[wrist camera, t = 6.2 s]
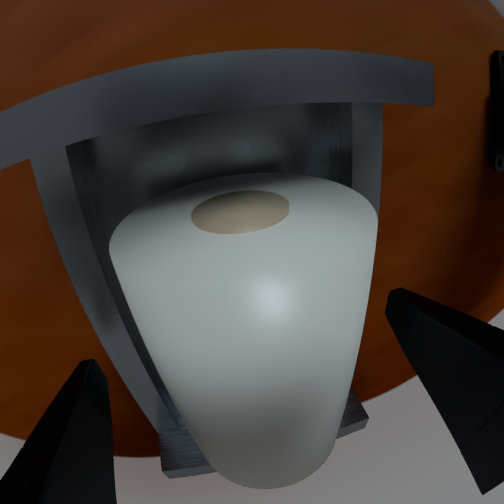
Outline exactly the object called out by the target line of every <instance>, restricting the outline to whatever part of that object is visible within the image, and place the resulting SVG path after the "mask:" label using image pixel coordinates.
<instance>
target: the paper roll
mask: <svg viewBox="0 0 504 504" xmlns="http://www.w3.org/2000/svg"><path fill="white" fill-rule="evenodd" d="M377 226H378V218H377V214H376V211H375V210H374V208H373V206H372V205H371V204H370V202H369V201H368V200H367V199H366V198H365V197H363V196H362V195H361V194H359V193H358V192H356V191H354V190H353V189H351V188H349V187H347V186H344V185H342V184H339V183H337V182H334V181H331V180H327V179H323V178H319V177H314V176H308V175H301V174H291V173H248V174H237V175H230V176H224V177H218V178H212V179H208V180H203V181H199V182H196V183H192V184H188V185H185V186H182V187H179V188H176V189H174V190H171V191H169V192H166V193H164V194H162V195H160V196H157V197H155V198H153V199H151V200H150V201H148V202H146V203H144V204H143V205H141V206H140V207H138V208H137V209H135V210H134V211H133V212H131V213H130V214H129V215H128V216H127V217H126V218H125V219H123V220H122V221H121V223H120V224H119V225H118V226H117V228H116V229H115V231H114V233H113V235H112V237H111V240H110V243H109V253H110V257H111V260H112V263H113V266H114V269H115V271H116V274H117V277H118V280H119V282H120V285H121V287H122V290H123V293H124V295H125V298H126V300H127V303H128V305H129V308H130V310H131V313H132V315H133V318H134V320H135V322H136V325H137V327H138V329H139V332H140V334H141V336H142V339H143V341H144V343H145V345H146V348H147V350H148V352H149V354H150V356H151V358H152V360H153V363H154V365H155V367H156V369H157V371H158V373H159V375H160V377H161V379H162V381H163V383H164V385H165V387H166V389H167V391H168V393H169V395H170V397H171V399H172V401H173V402H174V404H175V406H176V408H177V410H178V412H179V414H180V415H181V417H182V419H183V421H184V423H185V424H186V426H187V428H188V430H189V431H190V433H191V435H192V437H193V438H194V440H195V442H196V443H197V445H198V447H199V448H200V450H201V452H202V453H203V455H204V456H205V458H206V460H207V461H208V463H209V464H210V465H211V466H212V467H213V468H214V469H215V470H216V471H217V472H218V473H219V474H220V475H222V476H223V477H225V478H226V479H228V480H230V481H232V482H234V483H237V484H239V485H242V486H246V487H251V488H260V489H272V488H279V487H285V486H288V485H291V484H294V483H297V482H298V481H301V480H303V479H305V478H306V477H308V476H310V475H311V474H312V473H313V472H315V471H316V470H317V469H319V468H320V466H321V465H322V464H323V463H324V462H325V461H326V459H327V457H328V456H329V455H330V453H331V451H332V449H333V447H334V444H335V440H336V437H337V434H338V430H339V427H340V424H341V420H342V416H343V413H344V409H345V406H346V402H347V398H348V394H349V390H350V386H351V382H352V378H353V374H354V369H355V365H356V360H357V356H358V351H359V346H360V341H361V336H362V331H363V326H364V321H365V315H366V309H367V303H368V297H369V291H370V284H371V277H372V270H373V263H374V255H375V246H376V237H377Z"/></svg>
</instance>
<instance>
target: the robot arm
mask: <svg viewBox="0 0 504 504" xmlns="http://www.w3.org/2000/svg"><path fill="white" fill-rule="evenodd" d="M493 69H494V113H493V132H492V144H491V154H490V167H491V168H492V169H494V170H496V171H499V172H500V171H504V51H499V50H495V51H494V53H493ZM385 314H386V317H387V320H388V322H389V324H390V326H391V327H392V329H393V331H394V334H395V336H396V338H397V340H398V342H399V344H400V346H401V348H402V350H403V352H404V354H405V355H406V357H407V359H408V360H409V362H410V364H411V365H412V367H413V369H414V370H415V372H416V374H417V375H418V377H419V378H420V380H421V382H422V383H423V385H424V387H425V388H426V390H427V392H428V394H429V395H430V397H431V399H432V401H433V402H434V404H435V405H436V407H437V409H438V411H439V413H440V414H441V416H442V418H443V420H444V422H445V424H446V425H447V427H448V429H449V431H450V433H451V434H452V436H453V438H454V440H455V442H456V444H457V446H458V448H459V449H460V452H461V454H462V456H463V457H464V459H465V461H466V463H467V465H468V467H469V469H470V471H471V473H472V475H473V477H474V479H475V482H476V484H477V486H478V488H479V490H480V492H481V493H482V495H484V494H485V493H487V492H488V491H490V490H492V489H493V488H495V487H496V486H498V485H499V484H501V483H502V482H503V481H504V330H502V329H500V328H497V327H495V326H493V327H492V325H490V324H488V323H486V322H483V321H481V320H479V319H476V318H474V317H472V316H469V315H467V314H464V313H462V312H460V311H457V310H455V309H453V308H450V307H448V306H445V305H443V304H441V303H438V302H436V301H433V300H431V299H429V298H426V297H424V296H421V295H419V294H416V293H414V292H411V291H409V290H407V289H404V288H397V289H394V290H391V291H390V292H389V295H388V300H387V304H386V309H385ZM23 447H24V448H21V450H20V451H19V453H18V455H17V456H16V458H15V459H14V461H13V462H12V464H11V466H10V467H9V469H8V470H7V472H6V473H5V474H4V476H3V477H2V479H1V480H0V504H117V501H116V491H115V478H114V460H113V431H112V420H111V411H110V402H109V391H108V382H107V378H106V376H105V374H104V373H103V371H102V370H101V368H100V366H99V365H98V363H97V362H96V361H95V360H94V359H88V360H82V361H81V362H80V363H79V364H78V366H77V367H76V368H75V370H74V371H73V373H72V374H71V375H70V377H69V378H68V380H67V381H66V382H65V384H64V385H63V387H62V388H61V389H60V391H59V392H58V394H57V395H56V397H55V398H54V400H53V401H52V402H51V404H50V405H49V407H48V408H47V410H46V411H45V413H44V414H43V416H42V417H41V419H40V420H39V422H38V423H37V425H36V426H35V428H34V429H33V431H32V433H31V434H30V436H29V437H28V439H27V440H26V442H25V444H24V445H23Z"/></svg>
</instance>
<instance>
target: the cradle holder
mask: <svg viewBox="0 0 504 504" xmlns="http://www.w3.org/2000/svg"><path fill="white" fill-rule="evenodd" d="M383 103H396V104H411V105H424V106H434V76H433V63H428V62H423V61H418V60H413V59H407V58H401V57H395V56H388V55H381V54H373V53H364V52H354V51H342V50H325V49H257V50H240V51H228V52H218V53H209V54H200V55H193V56H186V57H180V58H173V59H168V60H162V61H157V62H152V63H147V64H142V65H138V66H133V67H129V68H125V69H121V70H117V71H113V72H109V73H105V74H102V75H98V76H95V77H91V78H88V79H85V80H82V81H78V82H75V83H72V84H69V85H66V86H64V87H61V88H58V89H55V90H52V91H50V92H47V93H44V94H42V95H39V96H37V97H34V98H32V99H29V100H27V101H25V102H22V103H20V104H18V105H15V106H13V107H11V108H9V109H7V110H5V111H2V112H0V170H1V169H3V168H6V167H8V166H11V165H13V164H16V163H18V162H21V161H23V160H26V159H29V158H30V160H31V164H32V168H33V172H34V176H35V179H36V183H37V187H38V190H39V194H40V197H41V200H42V203H43V207H44V210H45V213H46V216H47V219H48V222H49V225H50V228H51V230H52V233H53V236H54V239H55V242H56V244H57V247H58V249H59V252H60V255H61V257H62V260H63V262H64V265H65V267H66V270H67V272H68V274H69V277H70V279H71V281H72V284H73V286H74V288H75V290H76V293H77V295H78V297H79V299H80V301H81V303H82V306H83V308H84V310H85V312H86V314H87V316H88V318H89V320H90V322H91V324H92V326H93V328H94V330H95V332H96V334H97V335H98V337H99V339H100V341H101V343H102V345H103V347H104V348H105V350H106V352H107V354H108V356H109V357H110V359H111V361H112V363H113V364H114V366H115V368H116V370H117V371H118V373H119V375H120V376H121V378H122V380H123V381H124V383H125V384H126V386H127V388H128V389H129V391H130V392H131V394H132V396H133V397H134V399H135V400H136V402H137V403H138V405H139V406H140V408H141V409H142V411H143V412H144V414H145V415H146V417H147V418H148V419H149V421H150V422H151V424H152V425H153V427H154V428H155V429H156V431H157V432H158V437H159V448H160V458H161V467H162V472H163V473H164V474H165V475H166V476H167V477H168V478H178V477H187V476H194V475H200V474H207V473H213V472H217V471H216V470H215V469H214V468H213V467H212V466H211V465H210V464H209V463H208V461H207V460H206V458H205V456H204V455H203V453H202V452H201V450H200V448H199V447H198V445H197V443H196V442H195V440H194V438H193V437H192V435H191V433H190V431H189V430H188V428H187V426H186V424H185V423H184V421H183V419H182V417H181V415H180V414H179V412H178V410H177V408H176V406H175V404H174V402H173V401H172V399H171V397H170V395H169V393H168V391H167V389H166V387H165V385H164V383H163V381H162V379H161V377H160V375H159V373H158V371H157V369H156V367H155V365H154V363H153V360H152V358H151V356H150V354H149V352H148V350H147V348H146V345H145V343H144V341H143V339H142V336H141V334H140V332H139V329H138V327H137V325H136V322H135V320H134V318H133V315H132V313H131V310H130V308H129V305H128V303H127V300H126V298H125V295H124V293H123V290H122V287H121V285H120V282H119V280H118V277H117V274H116V271H115V269H114V266H113V263H112V260H111V257H110V253H109V243H110V240H111V237H112V235H113V233H114V231H115V229H116V228H117V226H118V225H119V224H120V223H121V221H122V220H123V219H125V218H126V217H127V216H128V215H129V214H130V213H131V212H133V211H134V210H135V209H137V208H138V207H140V206H141V205H143V204H144V203H146V202H148V201H150V200H151V199H153V198H155V197H157V196H160V195H162V194H164V193H166V192H169V191H171V190H174V189H176V188H179V187H182V186H185V185H188V184H192V183H196V182H199V181H203V180H208V179H212V178H218V177H224V176H230V175H237V174H248V173H291V174H301V175H308V176H314V177H319V178H323V179H327V180H331V181H334V182H337V183H339V184H342V185H344V186H347V187H349V188H351V189H353V190H354V191H356V192H358V193H359V194H361V195H362V196H363V197H365V198H366V199H367V200H368V201H369V202H370V204H371V205H372V206H373V208H374V210H375V211H376V214H377V218H378V216H379V204H380V190H381V172H382V142H383ZM377 227H378V226H377ZM368 419H369V417H368V415H367V413H366V411H365V410H364V408H363V406H362V404H361V403H360V401H359V399H358V398H357V396H356V394H355V392H354V391H353V389H352V387H351V386H350V390H349V394H348V398H347V402H346V406H345V409H344V413H343V416H342V420H341V424H340V427H339V430H338V434H337V437H336V439H337V438H340V437H343V436H345V435H348V434H350V433H353V432H355V431H358V430H360V429H363V428H365V426H366V424H367V421H368Z"/></svg>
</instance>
